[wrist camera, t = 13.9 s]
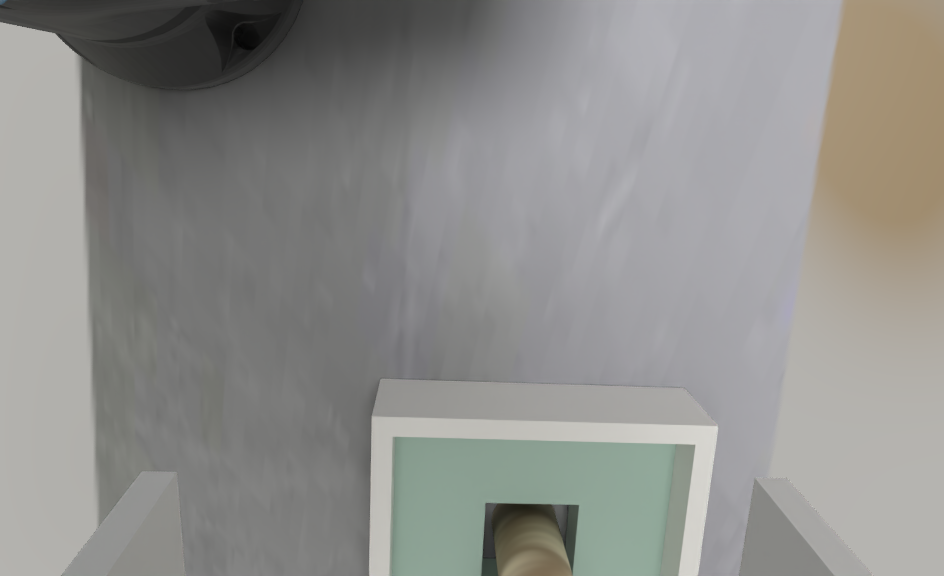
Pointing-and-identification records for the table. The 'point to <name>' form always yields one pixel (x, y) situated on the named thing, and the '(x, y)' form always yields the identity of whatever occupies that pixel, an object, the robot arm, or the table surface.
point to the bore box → (538, 473)
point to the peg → (528, 541)
